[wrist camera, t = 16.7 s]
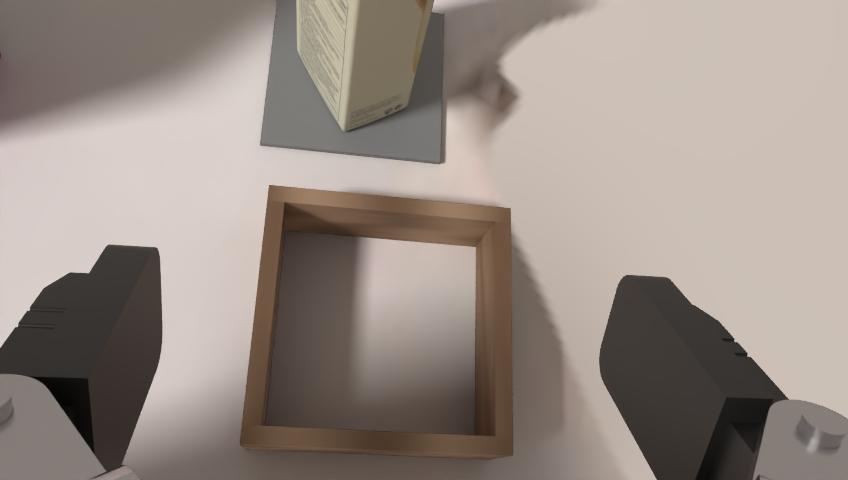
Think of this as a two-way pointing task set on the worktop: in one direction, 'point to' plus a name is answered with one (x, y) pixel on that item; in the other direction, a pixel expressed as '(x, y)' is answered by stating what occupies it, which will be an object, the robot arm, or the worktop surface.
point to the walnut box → (408, 224)
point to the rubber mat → (315, 124)
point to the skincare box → (362, 54)
